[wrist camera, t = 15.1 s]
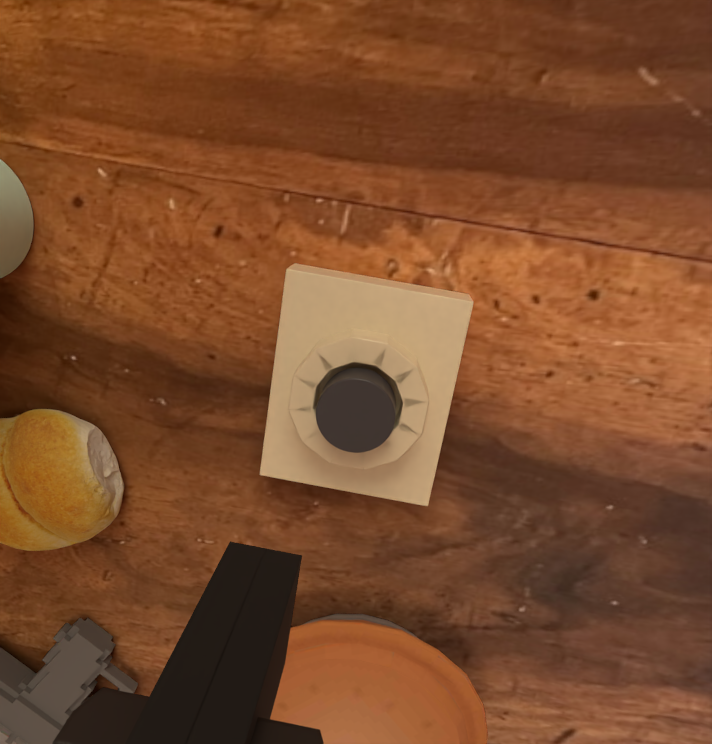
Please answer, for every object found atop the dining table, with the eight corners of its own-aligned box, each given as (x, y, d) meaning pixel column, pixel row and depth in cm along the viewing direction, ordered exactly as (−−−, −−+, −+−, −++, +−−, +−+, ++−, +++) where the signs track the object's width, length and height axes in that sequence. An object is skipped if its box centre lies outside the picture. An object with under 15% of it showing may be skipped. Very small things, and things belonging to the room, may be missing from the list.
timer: (294, 262, 31) (278, 273, 27) (469, 294, 31) (478, 309, 27) (268, 457, 34) (251, 491, 31) (426, 487, 34) (429, 525, 30)
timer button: (326, 361, 29) (321, 371, 27) (402, 374, 29) (402, 386, 27) (315, 430, 30) (310, 445, 28) (388, 444, 30) (387, 459, 28)
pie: (231, 765, 41) (208, 841, 36) (237, 566, 37) (212, 623, 32) (461, 797, 40) (469, 878, 36) (497, 598, 36) (511, 661, 31)
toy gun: (5, 591, 36) (-98, 705, 37) (216, 750, 38) (113, 853, 39) (35, 561, 39) (-60, 666, 40) (226, 708, 42) (131, 803, 43)
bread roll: (-46, 427, 36) (-101, 455, 32) (92, 390, 34) (53, 415, 30) (13, 549, 38) (-31, 589, 34) (146, 519, 36) (115, 558, 32)
